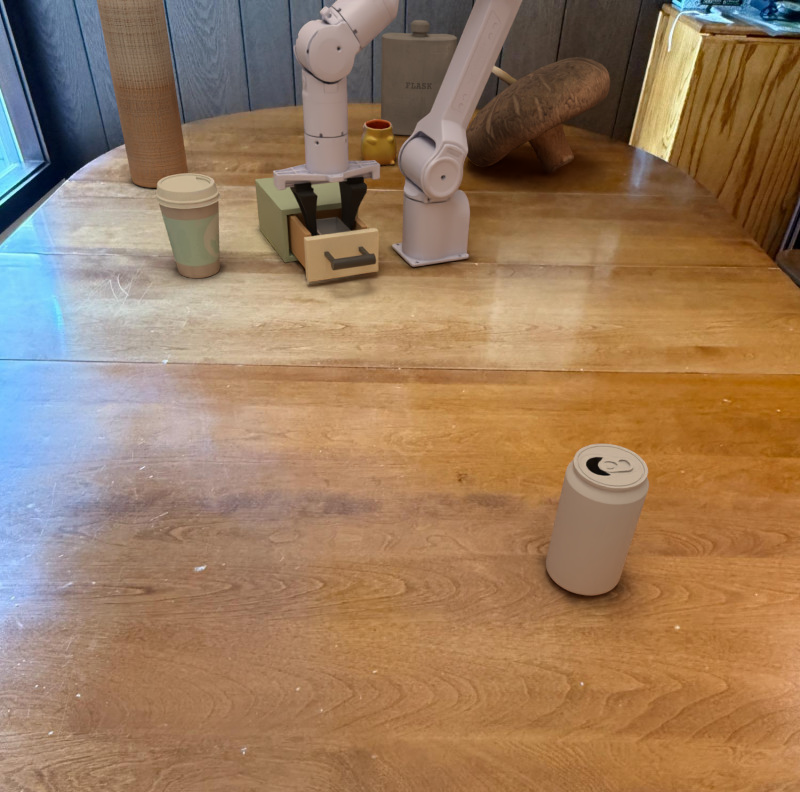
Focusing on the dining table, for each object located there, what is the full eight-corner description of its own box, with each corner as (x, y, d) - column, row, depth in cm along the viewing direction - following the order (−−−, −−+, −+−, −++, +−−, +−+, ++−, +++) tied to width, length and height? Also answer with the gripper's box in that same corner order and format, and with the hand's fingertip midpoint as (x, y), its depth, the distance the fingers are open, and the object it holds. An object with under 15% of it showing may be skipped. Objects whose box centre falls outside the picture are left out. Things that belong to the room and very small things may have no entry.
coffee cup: (216, 285, 107) (204, 196, 99) (158, 278, 108) (141, 189, 100) (238, 261, 114) (228, 175, 105) (183, 254, 115) (169, 169, 107)
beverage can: (537, 550, 69) (559, 440, 61) (607, 547, 70) (638, 438, 62) (553, 603, 64) (580, 491, 56) (628, 599, 65) (665, 488, 57)
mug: (397, 167, 147) (398, 128, 143) (361, 166, 147) (360, 128, 142) (394, 148, 156) (394, 111, 152) (360, 147, 156) (359, 111, 151)
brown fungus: (475, 142, 163) (544, 19, 148) (560, 207, 159) (638, 87, 145) (415, 135, 140) (489, -12, 126) (513, 210, 137) (600, 68, 123)
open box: (338, 235, 113) (337, 216, 112) (352, 251, 109) (352, 231, 108) (308, 240, 112) (307, 220, 110) (321, 255, 108) (320, 235, 106)
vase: (200, 178, 140) (175, -9, 121) (160, 193, 133) (126, -1, 115) (161, 167, 143) (130, -15, 125) (120, 181, 137) (81, -9, 119)
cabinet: (358, 252, 117) (358, 200, 112) (284, 262, 114) (281, 209, 108) (328, 220, 126) (327, 171, 121) (259, 229, 123) (254, 179, 118)
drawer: (390, 284, 107) (391, 242, 103) (319, 295, 104) (317, 253, 100) (347, 239, 118) (346, 200, 115) (282, 248, 115) (279, 208, 111)
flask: (381, 135, 162) (382, 22, 149) (380, 127, 166) (381, 17, 153) (452, 137, 163) (459, 24, 149) (449, 129, 167) (456, 19, 154)
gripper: (281, 145, 96) (288, 253, 105) (389, 135, 100) (387, 239, 109) (265, 129, 100) (273, 234, 110) (369, 120, 105) (369, 222, 114)
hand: (329, 236), depth 110 cm, fingers closed on open box, 4 cm apart
